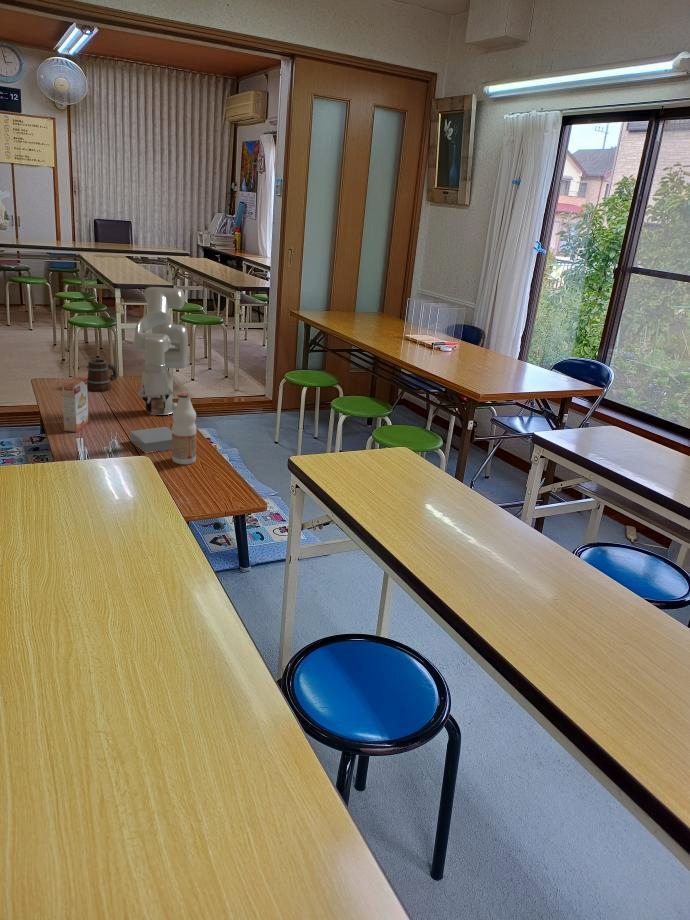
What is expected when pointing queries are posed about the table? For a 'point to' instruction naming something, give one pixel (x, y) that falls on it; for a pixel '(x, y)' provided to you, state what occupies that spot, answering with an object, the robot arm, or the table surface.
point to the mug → (99, 375)
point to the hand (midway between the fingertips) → (155, 410)
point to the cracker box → (75, 404)
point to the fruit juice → (184, 431)
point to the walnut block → (157, 406)
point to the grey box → (152, 439)
